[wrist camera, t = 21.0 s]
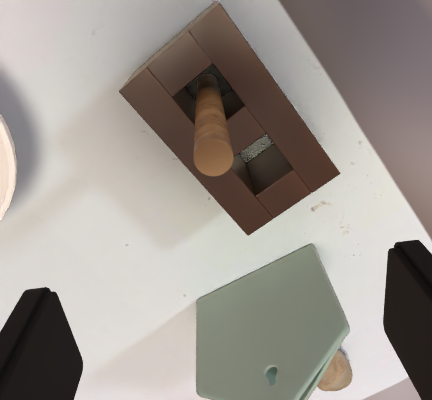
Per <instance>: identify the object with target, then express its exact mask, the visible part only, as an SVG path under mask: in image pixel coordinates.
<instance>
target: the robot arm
mask: <svg viewBox="0 0 432 400" xmlns="http://www.w3.org/2000/svg"><path fill="white" fill-rule="evenodd" d="M383 325H384V330H385V333H386V335H387V337H388V339H389V341H390V343H391V344H392V346H393V348H394V350H395V352H396V354H397V355H398V357H399V359H400V361H401V363H402V365H403V366H404V368H405V370H406V372H407V374H408V376H409V377H410V379H411V381H412V383H413V385H414V387H415V389H416V390H417V392H418V394H419V396H420V398H421V400H432V254H431V253H430V252H429V251H428V250H427V248H426V247H425V246H424V245H423V244H422V243H421V242H420V241H419V240H412V241H404V242H397V243H395V245H394V248H391V249H389V251H388V260H387V275H386V289H385V303H384V317H383ZM82 370H83V361H82V357H81V355H80V352H79V349H78V347H77V344H76V342H75V339H74V336H73V334H72V331H71V329H70V326H69V324H68V321H67V318H66V316H65V313H64V311H63V308H62V305H61V303H60V300H59V298H58V295H57V293H56V292H51V291H50V289H49V288H47V287H44V288H37V289H29V290H26V291H24V293H23V294H22V296H21V298H20V299H19V301H18V303H17V304H16V306H15V308H14V310H13V311H12V313H11V315H10V316H9V318H8V320H7V322H6V323H5V325H4V327H3V328H2V330H1V332H0V400H74V397H75V394H76V391H77V387H78V384H79V381H80V378H81V374H82Z"/></svg>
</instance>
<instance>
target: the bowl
mask: <svg viewBox="0 0 432 400" xmlns="http://www.w3.org/2000/svg"><path fill="white" fill-rule="evenodd" d="M16 177H17V159H16V154H15V148H14V142H13V140H12V137H11V134H10V132H9V129H8V126H7V124H6V122H5V120H4V119H3V117H2V115H1V114H0V220H1V219H2V217H3V215H4V214H5V212H6V210H7V209H8V207H9V205H10V203H11V200H12V197H13V193H14V190H15V186H16Z"/></svg>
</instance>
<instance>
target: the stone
mask: <svg viewBox="0 0 432 400" xmlns="http://www.w3.org/2000/svg"><path fill="white" fill-rule="evenodd" d="M351 380H352V370H351V366H350V363H349V361H348V359H347V358H346V356H345V355H344V354H343V353H342V352H341V351H340V350H339V349H338V350H337V352H336V353H335V355H334V357H333V358H332V360H331V362H330V364H329V366H328V367H327V369H326V371H325V373H324V375H323V376H322V378H321V380H320V382H319V383H318V385H317V386H318V388H319V389H321V390H323V391H338V390H341V389H343V388H345V387H347V386H348V385H349V384H350V383H351Z"/></svg>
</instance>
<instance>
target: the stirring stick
mask: <svg viewBox="0 0 432 400" xmlns="http://www.w3.org/2000/svg"><path fill="white" fill-rule="evenodd" d="M194 163H195V166H196V167H197V169H198V170H199V171H200V172H201V173H203V174H205V175H208V176H219V175H222V174H224V173H225V172H227V171H228V170H229V168H230V167H231V165H232V163H233V151H232V146H231V142H230V137H229V132H228V127H227V122H226V117H225V112H224V107H223V103H222V98H221V93H220V88H219V83H218V80H217V78H216V77H215V76H213V75H211V74H204V75H202V76H200V77H199V78H198V80H197V83H196V107H195V134H194Z"/></svg>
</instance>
